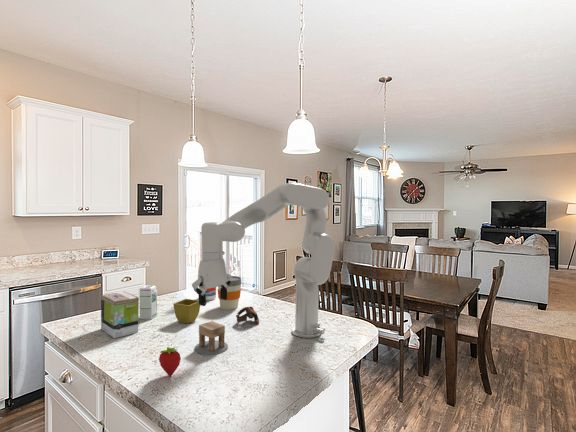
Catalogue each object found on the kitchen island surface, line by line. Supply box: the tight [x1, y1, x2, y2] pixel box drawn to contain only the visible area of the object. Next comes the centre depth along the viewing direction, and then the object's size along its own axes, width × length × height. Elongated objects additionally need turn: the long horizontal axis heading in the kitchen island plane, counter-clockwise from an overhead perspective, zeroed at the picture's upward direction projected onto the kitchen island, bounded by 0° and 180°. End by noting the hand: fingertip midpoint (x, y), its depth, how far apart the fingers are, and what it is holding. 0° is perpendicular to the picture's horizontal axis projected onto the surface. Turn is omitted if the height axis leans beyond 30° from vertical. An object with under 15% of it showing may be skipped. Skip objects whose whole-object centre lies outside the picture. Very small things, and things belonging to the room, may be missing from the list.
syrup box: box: [138, 284, 158, 320], centre depth 156 cm, size 6×6×14 cm
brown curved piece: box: [235, 306, 260, 326], centre depth 151 cm, size 12×10×8 cm
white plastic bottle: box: [198, 286, 217, 302], centre depth 189 cm, size 9×9×28 cm
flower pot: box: [173, 298, 201, 324], centre depth 151 cm, size 9×9×9 cm
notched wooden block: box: [198, 320, 226, 352], centre depth 124 cm, size 6×8×8 cm
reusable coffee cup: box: [217, 275, 242, 310], centre depth 174 cm, size 13×13×15 cm
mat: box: [194, 339, 229, 356], centre depth 124 cm, size 12×12×1 cm
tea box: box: [100, 291, 140, 339], centre depth 139 cm, size 15×10×15 cm
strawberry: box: [158, 344, 182, 377], centre depth 103 cm, size 6×8×10 cm
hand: (213, 302), depth 123 cm, fingers open, 9 cm apart
